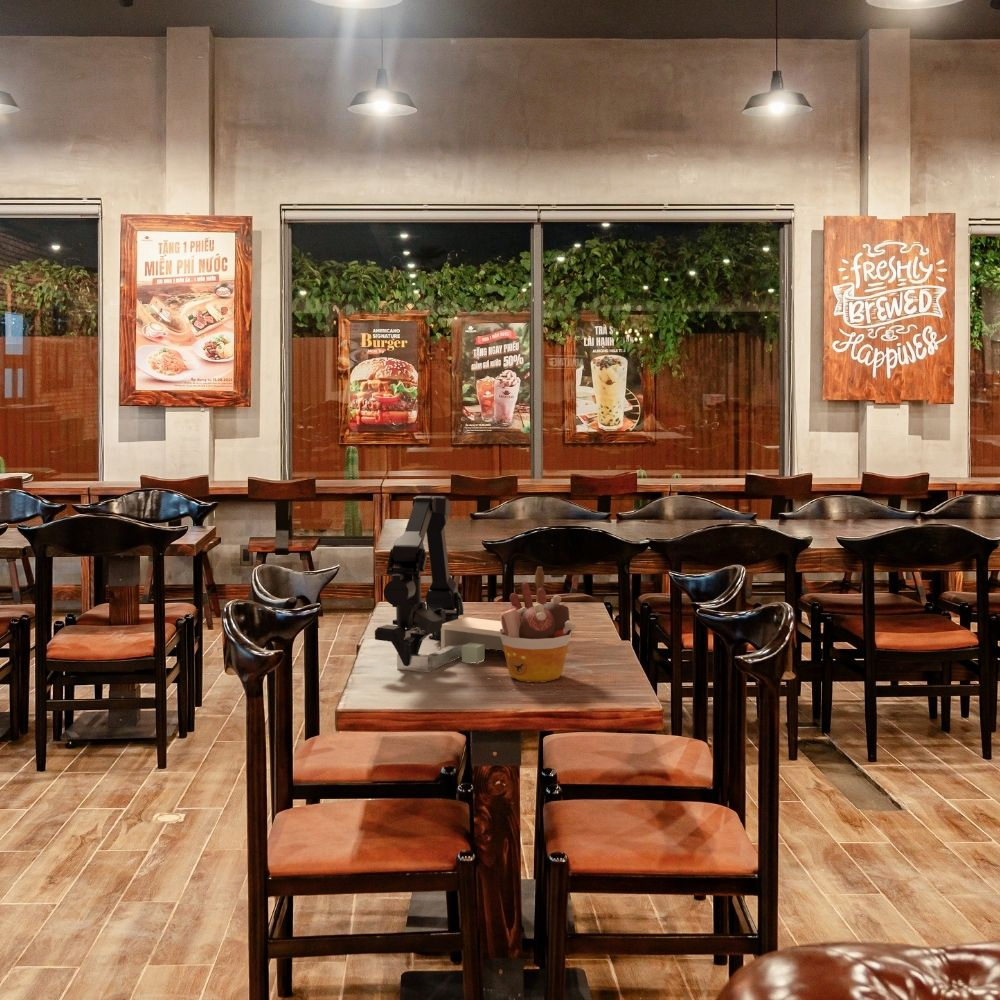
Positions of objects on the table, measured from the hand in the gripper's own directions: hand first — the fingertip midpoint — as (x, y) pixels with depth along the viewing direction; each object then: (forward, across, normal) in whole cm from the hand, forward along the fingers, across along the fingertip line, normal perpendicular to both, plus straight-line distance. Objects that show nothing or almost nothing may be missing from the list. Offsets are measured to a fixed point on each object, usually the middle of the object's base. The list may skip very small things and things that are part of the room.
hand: (409, 664), depth 264 cm
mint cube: (+1, +14, -8) cm, 16 cm away
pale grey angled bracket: (+1, +8, -3) cm, 9 cm away
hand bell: (+2, +61, +1) cm, 61 cm away
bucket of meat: (+1, +9, -28) cm, 30 cm away
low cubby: (+1, +23, -7) cm, 24 cm away
